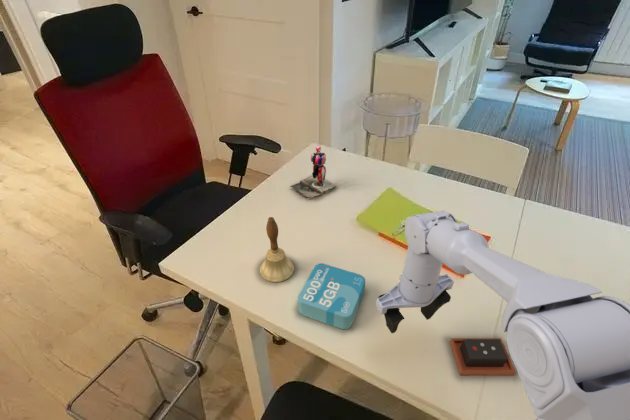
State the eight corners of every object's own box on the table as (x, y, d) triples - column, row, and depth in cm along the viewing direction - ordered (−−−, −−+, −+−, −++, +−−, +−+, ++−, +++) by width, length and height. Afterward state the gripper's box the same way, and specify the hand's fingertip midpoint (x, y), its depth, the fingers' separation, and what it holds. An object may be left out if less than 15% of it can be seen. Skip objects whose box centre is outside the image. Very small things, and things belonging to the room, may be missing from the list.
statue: (315, 179, 123) (319, 136, 114) (335, 191, 117) (340, 147, 109) (289, 189, 116) (291, 144, 108) (309, 202, 111) (313, 155, 102)
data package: (350, 319, 74) (295, 300, 77) (349, 332, 77) (296, 313, 80) (367, 276, 82) (317, 261, 86) (365, 289, 85) (317, 274, 89)
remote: (495, 347, 73) (499, 338, 72) (503, 366, 70) (508, 358, 68) (459, 347, 74) (463, 338, 72) (466, 366, 70) (470, 358, 68)
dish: (499, 341, 75) (501, 338, 74) (513, 375, 69) (515, 372, 69) (449, 341, 75) (450, 338, 74) (460, 375, 69) (461, 372, 69)
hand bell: (260, 284, 86) (253, 233, 76) (259, 258, 93) (252, 209, 83) (296, 280, 87) (293, 229, 77) (292, 255, 94) (289, 205, 84)
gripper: (441, 245, 66) (427, 294, 75) (370, 268, 62) (363, 317, 70) (468, 272, 61) (450, 321, 70) (392, 300, 57) (382, 349, 65)
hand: (408, 321), depth 70 cm, fingers open, 7 cm apart
